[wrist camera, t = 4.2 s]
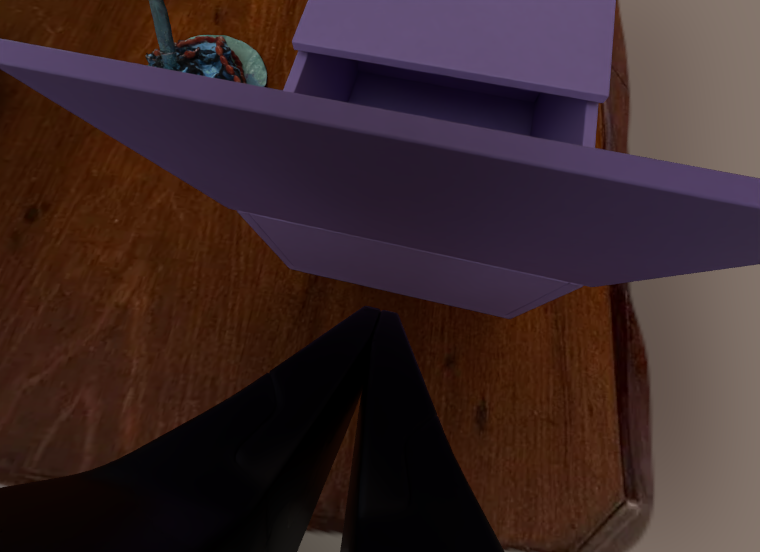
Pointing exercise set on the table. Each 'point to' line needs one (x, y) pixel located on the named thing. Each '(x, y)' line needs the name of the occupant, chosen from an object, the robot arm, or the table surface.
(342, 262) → the file box
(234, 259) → the table surface
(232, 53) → the dish
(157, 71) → the flap
